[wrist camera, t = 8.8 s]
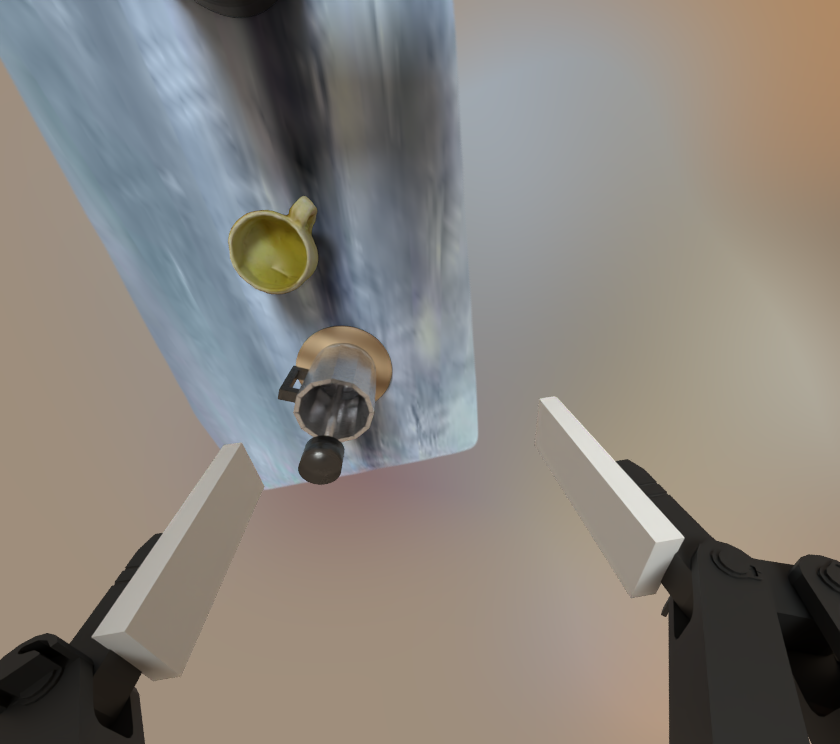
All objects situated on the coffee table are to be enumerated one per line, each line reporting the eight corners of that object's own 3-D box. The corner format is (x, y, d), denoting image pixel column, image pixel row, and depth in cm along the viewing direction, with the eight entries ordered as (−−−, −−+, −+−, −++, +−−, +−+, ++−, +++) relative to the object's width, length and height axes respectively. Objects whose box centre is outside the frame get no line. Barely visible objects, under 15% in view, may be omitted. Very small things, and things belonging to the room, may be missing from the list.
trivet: (305, 313, 47) (304, 314, 46) (403, 340, 51) (403, 342, 50) (290, 397, 54) (289, 398, 53) (378, 415, 57) (378, 417, 57)
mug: (291, 312, 45) (259, 306, 35) (243, 255, 43) (197, 232, 34) (355, 261, 45) (342, 240, 35) (309, 202, 43) (282, 162, 33)
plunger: (324, 354, 47) (289, 437, 30) (370, 365, 49) (361, 450, 31) (316, 391, 50) (280, 488, 33) (359, 401, 52) (346, 497, 34)
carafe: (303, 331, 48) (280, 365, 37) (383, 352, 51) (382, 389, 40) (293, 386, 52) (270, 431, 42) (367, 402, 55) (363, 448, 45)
